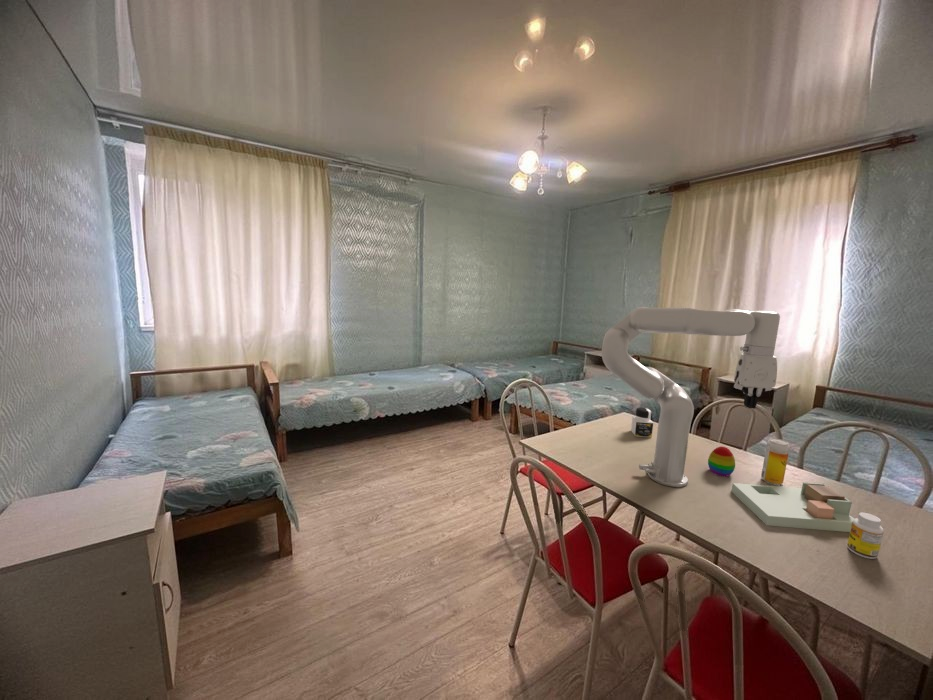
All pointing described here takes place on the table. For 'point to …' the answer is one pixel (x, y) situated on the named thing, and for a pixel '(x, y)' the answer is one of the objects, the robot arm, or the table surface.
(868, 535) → the supplement bottle
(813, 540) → the table surface
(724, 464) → the decorative egg
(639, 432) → the medicine bottle
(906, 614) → the table surface
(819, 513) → the terracotta block
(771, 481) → the pill bottle
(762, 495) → the board
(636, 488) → the table surface
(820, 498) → the walnut block
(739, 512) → the table surface
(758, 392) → the robot arm
